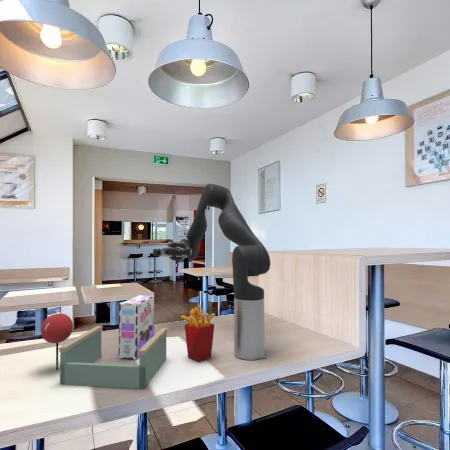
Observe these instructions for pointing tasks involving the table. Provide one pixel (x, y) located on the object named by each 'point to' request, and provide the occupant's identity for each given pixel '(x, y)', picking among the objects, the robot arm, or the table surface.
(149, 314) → the candy box
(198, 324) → the french fries
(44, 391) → the table surface
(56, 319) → the lollipop
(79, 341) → the low partition wall
